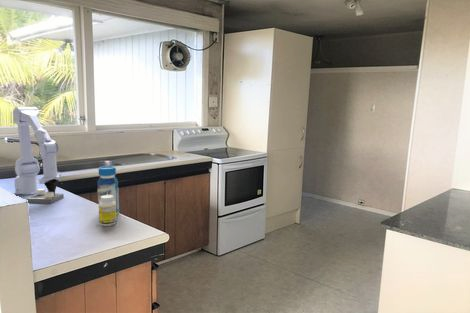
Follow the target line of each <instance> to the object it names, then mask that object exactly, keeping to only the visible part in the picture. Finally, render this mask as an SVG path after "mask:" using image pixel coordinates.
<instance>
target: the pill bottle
mask: <svg viewBox="0 0 470 313" xmlns="http://www.w3.org/2000/svg"><path fill="white" fill-rule="evenodd" d="M113 199H114V197H113V195H103V196H101V201H102V202H100V203H99V202H98V214H99V225H100V226H102V227H103V226H104V227H110V226H111V227H112V226H114V225H116V223H117V222H118V221H117V219H118V218H117V214H116V203H115V201H113Z"/></svg>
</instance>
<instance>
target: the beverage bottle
mask: <svg viewBox="0 0 470 313" xmlns="http://www.w3.org/2000/svg"><path fill="white" fill-rule="evenodd" d="M116 169H117V168H116V166H112V165H107V166H100V167H99V168H98V176H99V179H98V180H97V189H96V190H97V197H98V198H97V200H98V202H97V203H98V204H99V203H100V202H102V201H101V196H103V195H113V197H114V199H113V201H115V203H116V215H118V214H119V213H120V200H119V198H120V196H119V190H120V189H119V181H118V179H117V177H116V174H117V170H116Z"/></svg>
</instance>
